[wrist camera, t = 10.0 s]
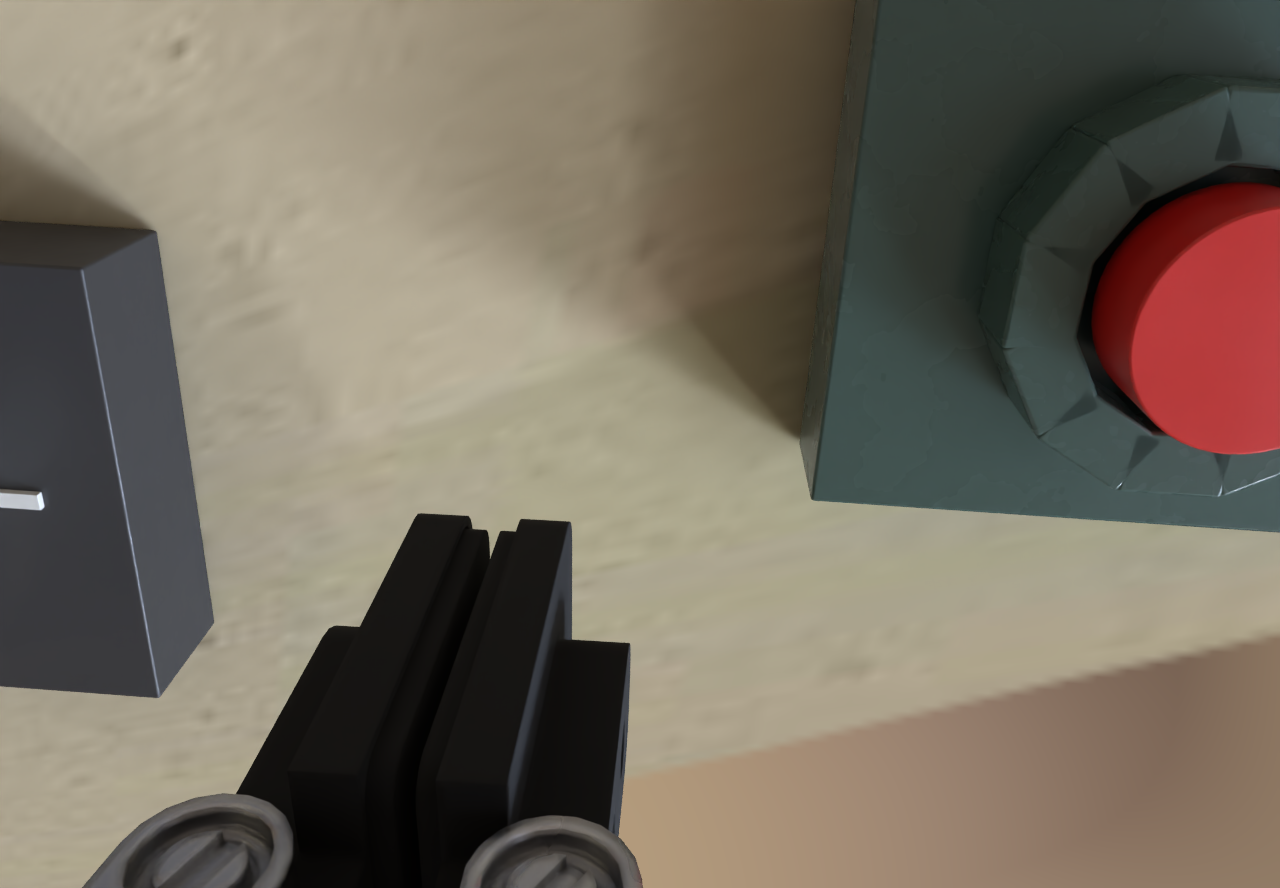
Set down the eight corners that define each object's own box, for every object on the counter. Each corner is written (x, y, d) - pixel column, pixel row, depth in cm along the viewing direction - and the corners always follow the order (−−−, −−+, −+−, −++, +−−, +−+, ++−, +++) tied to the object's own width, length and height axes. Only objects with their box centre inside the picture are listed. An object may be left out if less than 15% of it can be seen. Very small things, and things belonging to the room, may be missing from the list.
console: (1341, 481, 23) (1478, 593, 19) (799, 444, 23) (820, 547, 19) (1526, -11, 19) (1753, -1, 15) (861, -47, 19) (905, -49, 15)
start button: (1296, 419, 18) (1353, 464, 17) (1066, 404, 18) (1101, 447, 17) (1376, 189, 17) (1449, 213, 15) (1122, 173, 17) (1167, 197, 15)
